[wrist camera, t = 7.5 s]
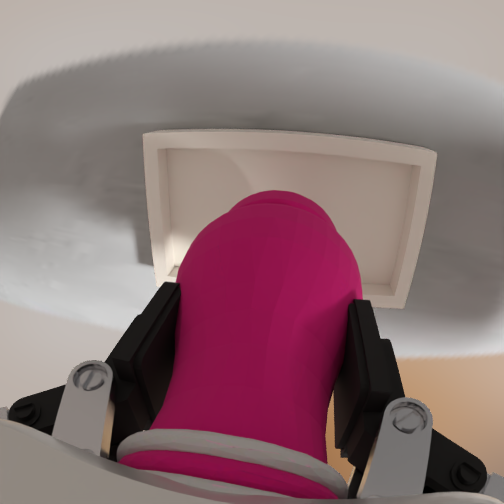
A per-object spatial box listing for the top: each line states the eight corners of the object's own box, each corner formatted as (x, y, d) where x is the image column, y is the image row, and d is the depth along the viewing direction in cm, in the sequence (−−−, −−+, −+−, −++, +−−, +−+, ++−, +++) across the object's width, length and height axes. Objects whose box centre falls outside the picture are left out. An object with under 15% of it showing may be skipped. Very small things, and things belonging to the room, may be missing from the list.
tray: (423, 147, 18) (437, 152, 16) (396, 290, 23) (403, 308, 21) (158, 130, 21) (142, 133, 18) (168, 270, 25) (156, 286, 23)
